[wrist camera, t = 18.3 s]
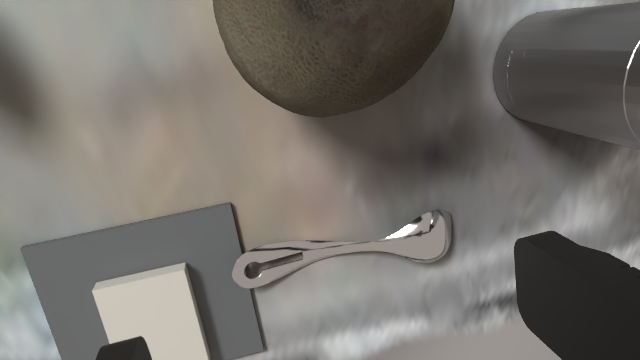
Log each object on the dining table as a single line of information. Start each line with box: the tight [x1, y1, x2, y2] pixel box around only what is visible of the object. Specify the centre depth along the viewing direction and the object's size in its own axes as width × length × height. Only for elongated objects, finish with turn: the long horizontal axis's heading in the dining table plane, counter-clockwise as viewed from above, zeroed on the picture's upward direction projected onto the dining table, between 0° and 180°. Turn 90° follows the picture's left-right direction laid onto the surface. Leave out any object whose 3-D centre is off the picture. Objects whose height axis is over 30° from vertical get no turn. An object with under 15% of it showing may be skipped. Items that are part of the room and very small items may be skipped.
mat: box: [21, 202, 264, 360], centre depth 40 cm, size 16×14×1 cm
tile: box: [92, 262, 210, 360], centre depth 40 cm, size 7×2×9 cm
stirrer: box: [231, 210, 452, 288], centre depth 41 cm, size 20×4×5 cm
